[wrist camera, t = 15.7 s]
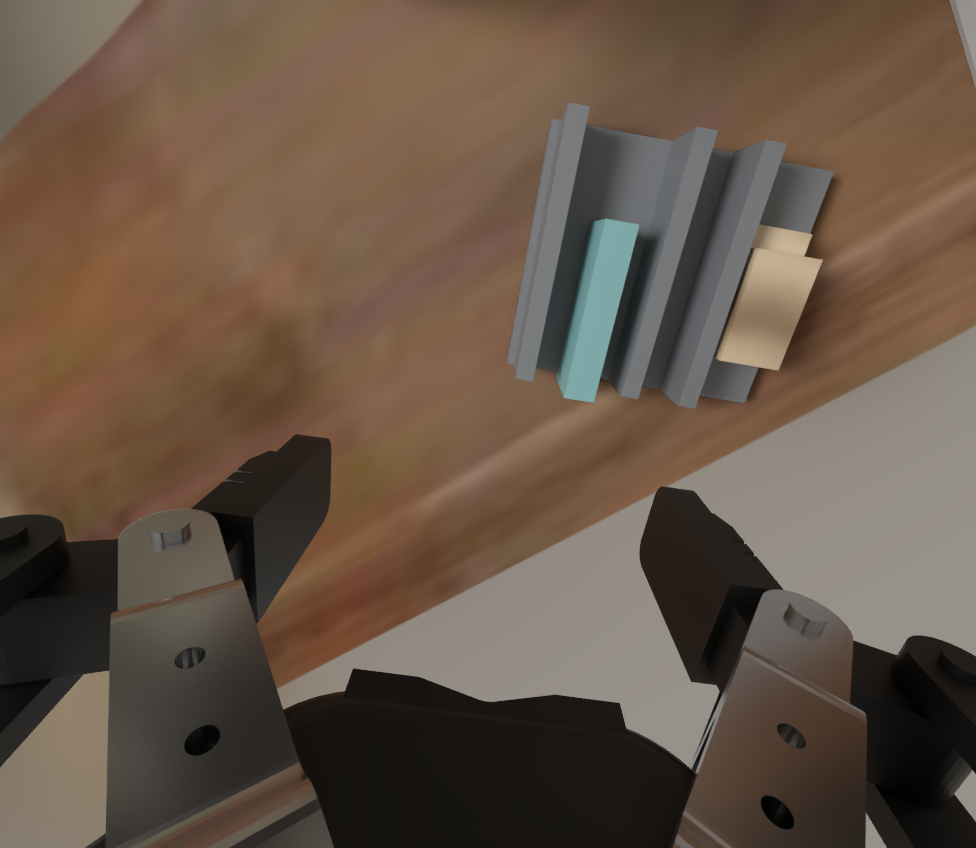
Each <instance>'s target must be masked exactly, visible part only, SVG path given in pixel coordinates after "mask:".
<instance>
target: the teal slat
mask: <svg viewBox="0 0 976 848" xmlns="http://www.w3.org/2000/svg"><path fill="white" fill-rule="evenodd" d="M638 229H639V224H633V223H627V222H622V221H616V220H610V219H602V220H598V221H594V222H590V226H589V231H588V235H587V240H586V244H585V249H584V254H583V258H582V263H581V267H580V272H579V276H578V281H577V285H576V290H575V294H574V299H573V303H572V308H571V312H570V317H569V321H568V326H567V330H566V335H565V339H564V344H563V348H562V353H561V357H560V362H559V366H558V371H557V376H556V379H557V381H558V384H559V386H560V389H561V391H562V394H563V396H564V398H568V399H574V400H581V401H587V402H593V403H594V400H595V396H596V392H597V388H598V384H599V381H600V377H601V373H602V369H603V365H604V361H605V357H606V353H607V349H608V345H609V342H610V338H611V334H612V330H613V326H614V322H615V318H616V314H617V310H618V307H619V303H620V299H621V295H622V291H623V287H624V283H625V279H626V275H627V272H628V268H629V264H630V260H631V256H632V252H633V248H634V244H635V240H636V236H637V233H638Z"/></svg>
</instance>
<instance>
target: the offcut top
mask: <svg viewBox="0 0 976 848" xmlns="http://www.w3.org/2000/svg"><path fill="white" fill-rule="evenodd" d="M822 261H823V260H821V259H815V258H810V257H804V256H799V255H793V254H788V253H782V252H777V251H771V250H766V249H760V248H751V249H750V252H749V255H748V258H747V261H746V263H745V266H744V269H743V272H742V275H741V278H740V281H739V284H738V287H737V289H736V292H735V295H734V298H733V301H732V304H731V307H730V310H729V313H728V315H727V318H726V321H725V324H724V327H723V330H722V333H721V336H720V339H719V341H718V344H717V347H716V350H715V353H714V356H713V357H714V358H716V359H718V360H720V361H725V362H731V363H737V364H743V365H749V366H755V367H760V368H766V369H772V370H779V368H780V365H781V363H782V360H783V358H784V355H785V353H786V350H787V348H788V346H789V343H790V341H791V338H792V336H793V333H794V331H795V328H796V326H797V323H798V321H799V318H800V316H801V313H802V311H803V308H804V306H805V303H806V301H807V298H808V296H809V293H810V291H811V288H812V286H813V283H814V281H815V278H816V276H817V273H818V271H819V268H820V266H821V264H822Z"/></svg>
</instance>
